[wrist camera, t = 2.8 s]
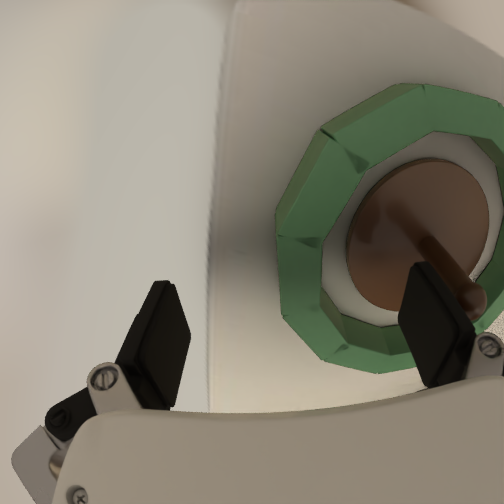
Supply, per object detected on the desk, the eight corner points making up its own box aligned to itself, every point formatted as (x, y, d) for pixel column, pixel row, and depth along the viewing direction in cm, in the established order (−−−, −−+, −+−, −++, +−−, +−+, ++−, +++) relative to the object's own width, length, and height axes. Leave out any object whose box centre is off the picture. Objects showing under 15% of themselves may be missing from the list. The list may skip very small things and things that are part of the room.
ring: (262, 81, 10) (261, 77, 8) (532, 115, 9) (559, 125, 7) (283, 354, 18) (284, 384, 16) (480, 324, 17) (492, 346, 15)
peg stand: (348, 155, 12) (404, 207, 7) (495, 164, 11) (568, 209, 6) (339, 313, 16) (359, 398, 11) (463, 297, 15) (502, 360, 10)
